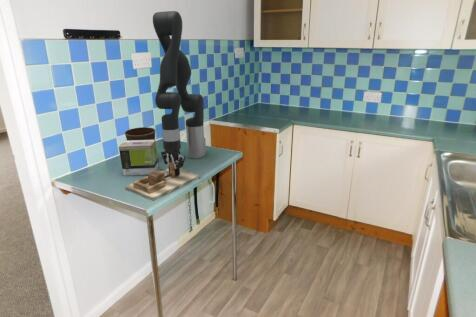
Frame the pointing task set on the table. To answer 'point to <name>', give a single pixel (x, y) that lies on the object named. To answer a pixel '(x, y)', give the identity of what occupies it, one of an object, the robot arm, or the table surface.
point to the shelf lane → (161, 184)
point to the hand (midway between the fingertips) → (174, 174)
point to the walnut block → (161, 175)
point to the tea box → (138, 157)
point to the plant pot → (140, 134)
